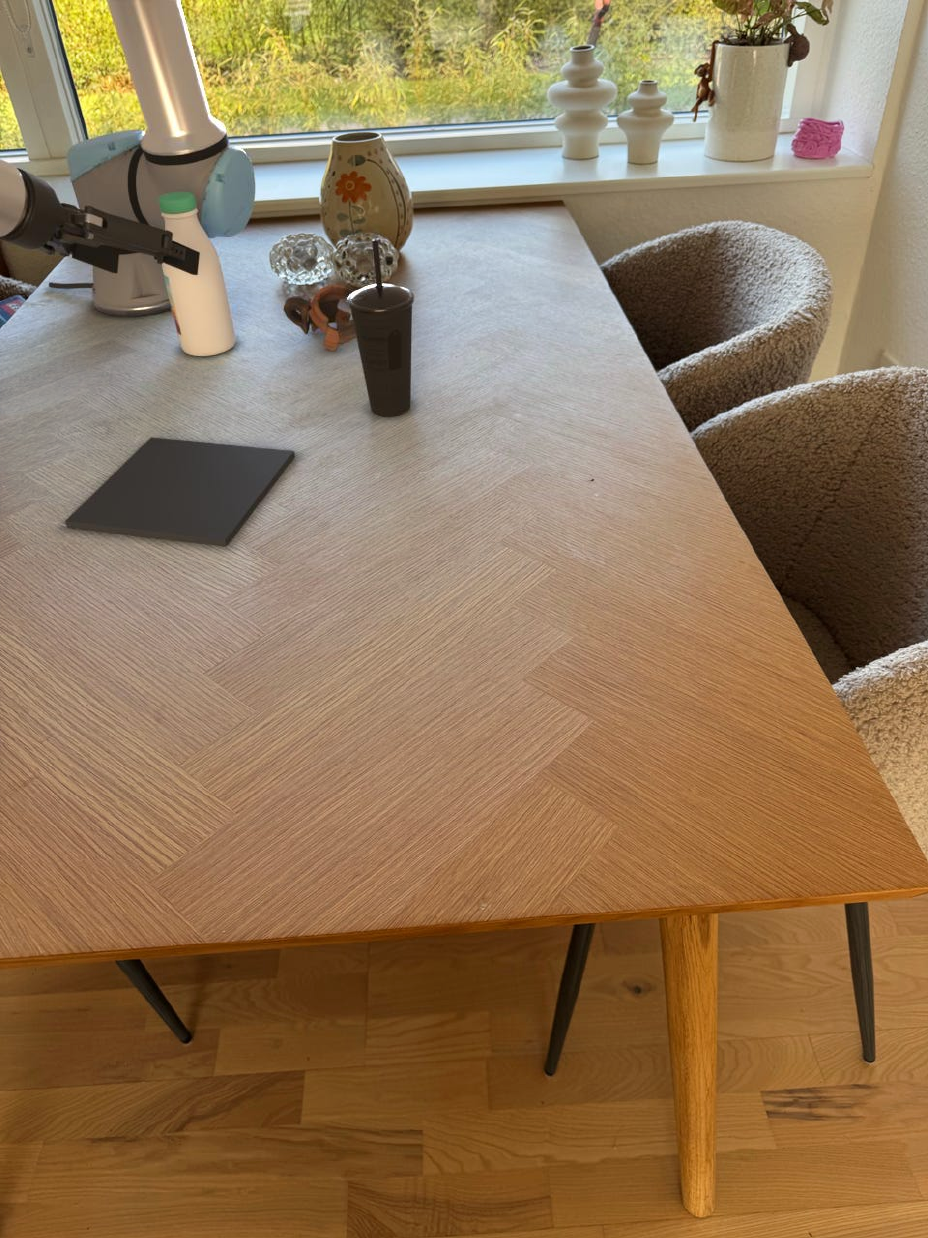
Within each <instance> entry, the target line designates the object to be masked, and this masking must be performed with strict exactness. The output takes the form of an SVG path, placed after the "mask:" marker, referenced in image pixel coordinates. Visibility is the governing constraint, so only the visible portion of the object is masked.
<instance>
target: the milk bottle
mask: <svg viewBox="0 0 928 1238" xmlns="http://www.w3.org/2000/svg"><path fill="white" fill-rule="evenodd" d="M158 202H159V207H160V210H161V212H162V214H161V215H162V216H163V217H164V219H165V230H168V231H170V232H172V233H173V241H175V242H178V243H180V244H182V245H184V246H187V247H189V248H191V249H193V250H196V251H198V252H200V257H199V267H198V275H192V274H189V273H187V272H185V271H182V270H180V269H177V268H175V267H172V266H170V265H167V264H165V263H163V264H162V269H163V274H164V279H165V283H166V288H167V292H168V296H169V301H170V305H171V309H170V310H171V313H172V317H173V321H174V325H175V329H176V333H177V337H178V341H179V346H180V348H181V350H182V351H183V352H184V353H186V354H188V355H189V356H196V357H209V356H215V355H219V354H223V353H225V352H227V351H229V350H231V349H232V348H233V347H234V346H236V342H237V336H236V331H235V330H236V329H235V325H234V319H233V315H232V310H231V305H230V300H229V296H228V295H229V294H228V291H227V286H226V281H225V277H224V272H223V267H222V264H221V261H220V257H219V254H218V252H217V249H216V248H215V246H214V244H213V243H212V241H211V238H208V237H207V235H206V234H205V232H204V230H203V229H202V227H201V225H200V223H199V220H198V218H197V212H198V210H197V204H196V199H195V196H194V194H193V193H190V192H171V193H167V194H164V195H162V196H160V197H159V198H158Z"/></svg>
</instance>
